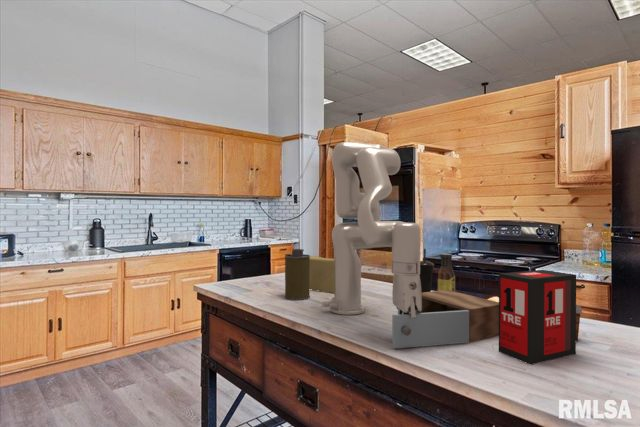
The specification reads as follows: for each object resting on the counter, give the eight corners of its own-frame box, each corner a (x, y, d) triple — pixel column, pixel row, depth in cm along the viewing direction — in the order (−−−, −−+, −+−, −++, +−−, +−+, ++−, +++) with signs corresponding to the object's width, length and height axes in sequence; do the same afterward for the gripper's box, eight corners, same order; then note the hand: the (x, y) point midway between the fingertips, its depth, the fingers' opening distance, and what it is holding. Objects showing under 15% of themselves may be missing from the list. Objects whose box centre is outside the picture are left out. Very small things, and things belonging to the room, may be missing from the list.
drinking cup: (434, 294, 162) (434, 248, 162) (433, 298, 154) (433, 249, 154) (416, 293, 164) (416, 247, 164) (414, 296, 157) (414, 249, 157)
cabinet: (470, 342, 102) (470, 309, 102) (415, 321, 122) (415, 293, 122) (504, 334, 109) (504, 303, 109) (446, 315, 128) (446, 289, 128)
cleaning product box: (542, 342, 102) (542, 269, 102) (575, 354, 94) (576, 274, 94) (498, 351, 96) (499, 273, 96) (530, 364, 88) (530, 279, 88)
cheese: (351, 293, 164) (351, 258, 164) (337, 296, 157) (337, 261, 157) (314, 286, 179) (314, 254, 179) (300, 289, 172) (300, 256, 172)
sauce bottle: (456, 309, 137) (456, 255, 137) (438, 308, 138) (438, 254, 138) (453, 305, 143) (454, 253, 143) (436, 304, 144) (436, 252, 144)
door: (472, 343, 100) (472, 312, 100) (396, 350, 95) (396, 317, 95) (466, 340, 103) (466, 310, 103) (392, 347, 97) (392, 314, 97)
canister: (314, 296, 157) (314, 248, 157) (300, 301, 148) (300, 251, 148) (293, 293, 162) (294, 247, 162) (278, 298, 154) (278, 249, 154)
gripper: (431, 272, 95) (430, 344, 95) (408, 263, 110) (407, 326, 110) (403, 273, 94) (402, 346, 94) (383, 264, 108) (383, 327, 109)
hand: (405, 335), depth 102 cm, fingers closed
